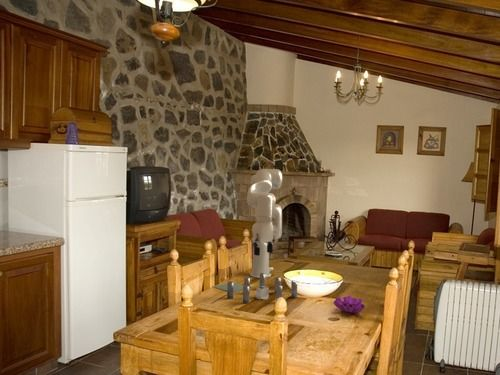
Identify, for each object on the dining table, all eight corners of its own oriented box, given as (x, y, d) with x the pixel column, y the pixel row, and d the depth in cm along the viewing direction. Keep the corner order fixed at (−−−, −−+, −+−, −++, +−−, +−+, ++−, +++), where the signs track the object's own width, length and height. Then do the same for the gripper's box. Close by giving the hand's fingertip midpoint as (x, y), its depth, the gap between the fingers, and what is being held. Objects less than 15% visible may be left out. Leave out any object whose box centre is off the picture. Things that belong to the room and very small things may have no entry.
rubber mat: (231, 282, 257) (232, 282, 257) (250, 287, 248) (250, 287, 247) (213, 287, 247) (213, 286, 247) (232, 292, 237) (232, 292, 237)
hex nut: (253, 297, 230) (254, 287, 230) (261, 295, 234) (261, 285, 234) (263, 300, 226) (263, 290, 226) (270, 298, 230) (271, 288, 230)
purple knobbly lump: (344, 323, 205) (332, 305, 206) (345, 313, 220) (334, 296, 221) (366, 310, 203) (353, 292, 204) (366, 300, 217) (354, 283, 218)
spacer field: (261, 287, 248) (262, 272, 248) (298, 297, 232) (298, 281, 232) (225, 297, 228) (226, 281, 228) (262, 309, 212) (263, 292, 212)
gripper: (269, 217, 237) (268, 250, 238) (246, 219, 224) (245, 255, 225) (281, 218, 232) (280, 252, 233) (258, 221, 219) (257, 257, 220)
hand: (263, 253), depth 229 cm, fingers open, 9 cm apart
